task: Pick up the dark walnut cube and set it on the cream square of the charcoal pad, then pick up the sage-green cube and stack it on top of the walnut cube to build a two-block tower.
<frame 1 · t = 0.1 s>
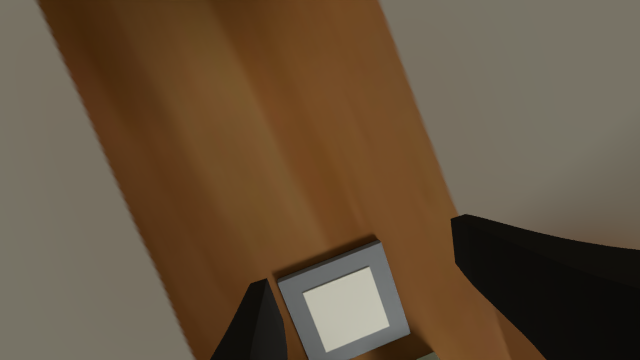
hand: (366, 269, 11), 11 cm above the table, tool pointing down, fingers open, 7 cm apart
charcoal blueprint pad: (345, 304, 23), on the table
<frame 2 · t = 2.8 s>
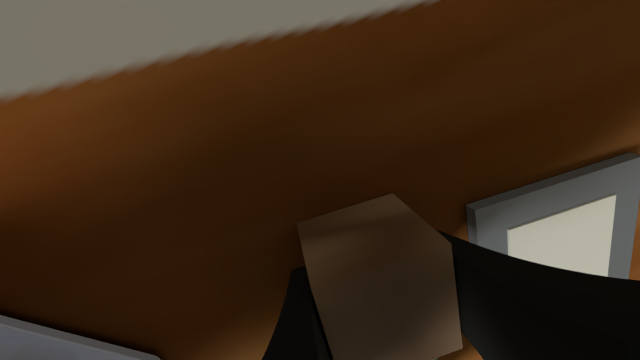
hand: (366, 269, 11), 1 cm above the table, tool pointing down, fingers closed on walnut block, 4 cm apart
charcoal blueprint pad: (548, 253, 14), on the table
walnut block: (355, 249, 12), on the table, touching gripper
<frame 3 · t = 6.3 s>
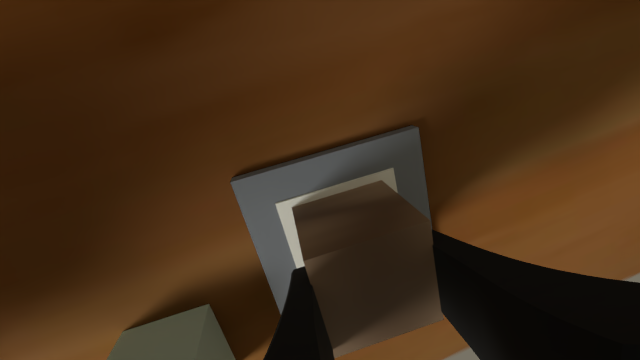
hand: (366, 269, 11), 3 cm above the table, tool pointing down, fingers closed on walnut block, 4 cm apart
charcoal blueprint pad: (344, 231, 14), on the table
sage block: (183, 347, 15), on the table
walnut block: (347, 233, 13), point 1 cm above the table, touching charcoal blueprint pad, gripper
when the fingers open (3 cm above the table, at t = 6.6 s): walnut block stays where it is, resting on charcoal blueprint pad.
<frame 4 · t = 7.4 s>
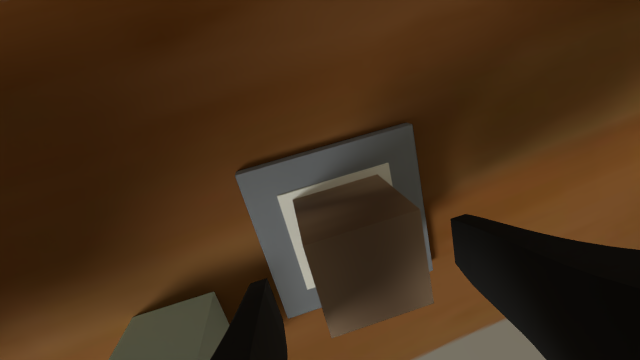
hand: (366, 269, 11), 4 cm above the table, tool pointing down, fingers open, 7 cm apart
charcoal blueprint pad: (342, 223, 15), on the table
sage block: (190, 332, 15), on the table
walnut block: (344, 225, 14), point 1 cm above the table, touching charcoal blueprint pad
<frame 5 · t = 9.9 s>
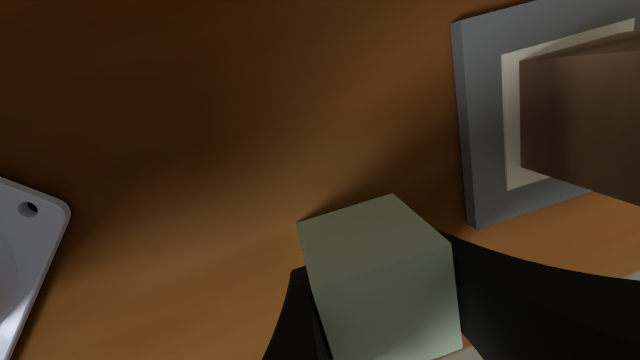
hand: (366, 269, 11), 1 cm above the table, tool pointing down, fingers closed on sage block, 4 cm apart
charcoal blueprint pad: (550, 108, 12), on the table
sage block: (355, 249, 12), on the table, touching gripper
walnut block: (567, 103, 11), point 1 cm above the table, touching charcoal blueprint pad
when the fingers open (7 cm above the table, at t = 13.0 s): sage block stays where it is, resting on walnut block.
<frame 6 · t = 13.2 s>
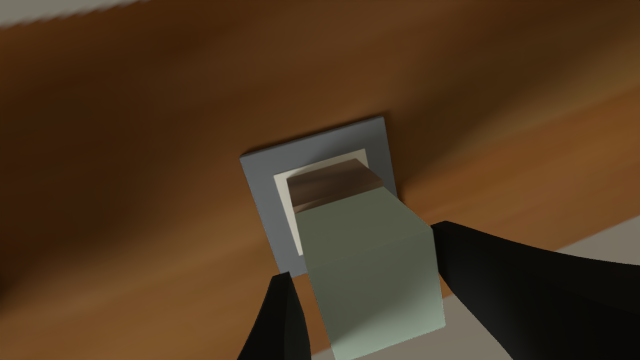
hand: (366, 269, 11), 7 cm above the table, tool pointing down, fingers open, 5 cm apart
charcoal blueprint pad: (328, 199, 18), on the table
sage block: (349, 239, 13), point 5 cm above the table, touching walnut block
walnut block: (329, 200, 17), point 1 cm above the table, touching charcoal blueprint pad, sage block
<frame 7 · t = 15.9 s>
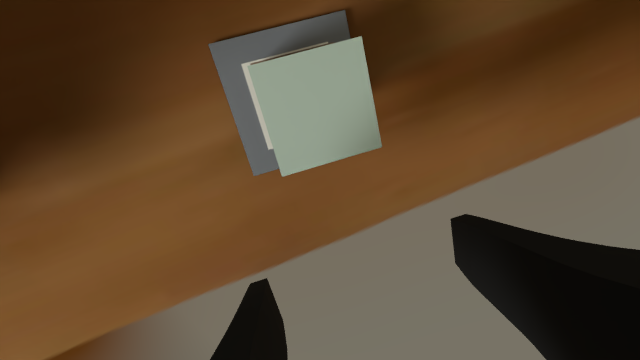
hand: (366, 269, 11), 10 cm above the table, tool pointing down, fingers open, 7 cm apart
charcoal blueprint pad: (295, 97, 19), on the table
sage block: (305, 102, 14), point 5 cm above the table, touching walnut block
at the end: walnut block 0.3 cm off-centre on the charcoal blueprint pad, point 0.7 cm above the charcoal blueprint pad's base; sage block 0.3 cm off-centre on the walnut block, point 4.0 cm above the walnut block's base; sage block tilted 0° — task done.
